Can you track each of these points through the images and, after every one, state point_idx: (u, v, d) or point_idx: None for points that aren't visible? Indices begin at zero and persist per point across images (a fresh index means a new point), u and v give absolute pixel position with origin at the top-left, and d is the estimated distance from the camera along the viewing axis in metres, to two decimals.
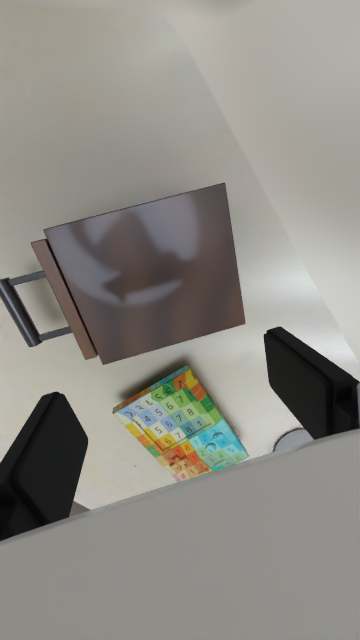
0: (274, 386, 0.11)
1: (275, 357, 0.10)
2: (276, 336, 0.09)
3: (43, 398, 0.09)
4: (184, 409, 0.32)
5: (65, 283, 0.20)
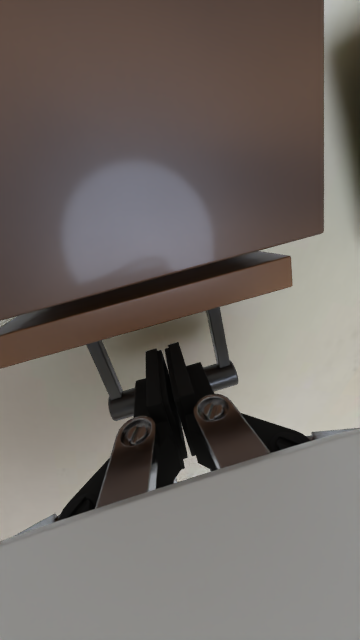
0: None
1: None
2: (169, 351, 0.10)
3: (148, 352, 0.11)
4: None
5: (89, 309, 0.08)
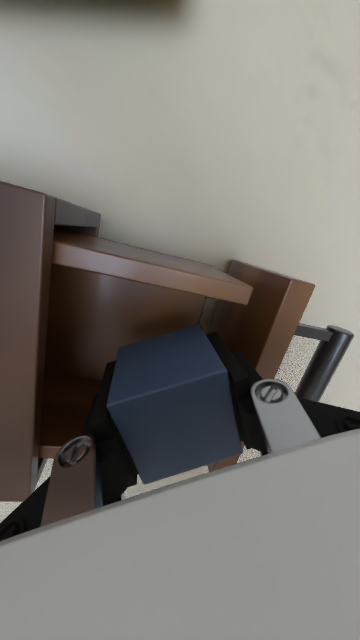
0: None
1: None
2: (209, 340, 0.10)
3: (109, 364, 0.10)
4: None
5: None
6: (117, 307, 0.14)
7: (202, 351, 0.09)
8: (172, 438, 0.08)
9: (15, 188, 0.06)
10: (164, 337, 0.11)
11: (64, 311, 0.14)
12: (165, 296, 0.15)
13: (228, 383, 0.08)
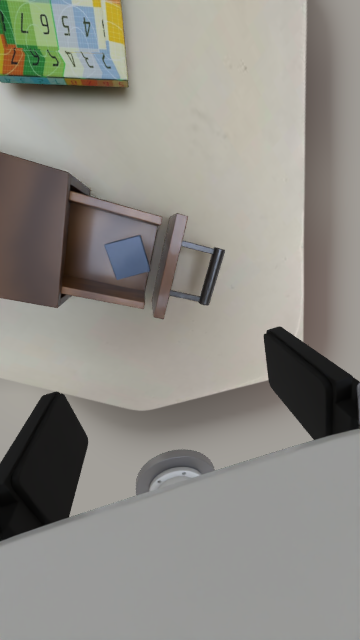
0: (274, 387, 0.10)
1: (275, 357, 0.10)
2: (276, 336, 0.09)
3: (43, 398, 0.09)
4: None
5: (160, 285, 0.26)
6: (109, 240, 0.28)
7: None
8: (124, 260, 0.26)
9: (59, 170, 0.20)
10: (126, 238, 0.28)
11: (83, 240, 0.28)
12: (134, 234, 0.29)
13: (141, 240, 0.25)
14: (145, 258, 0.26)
